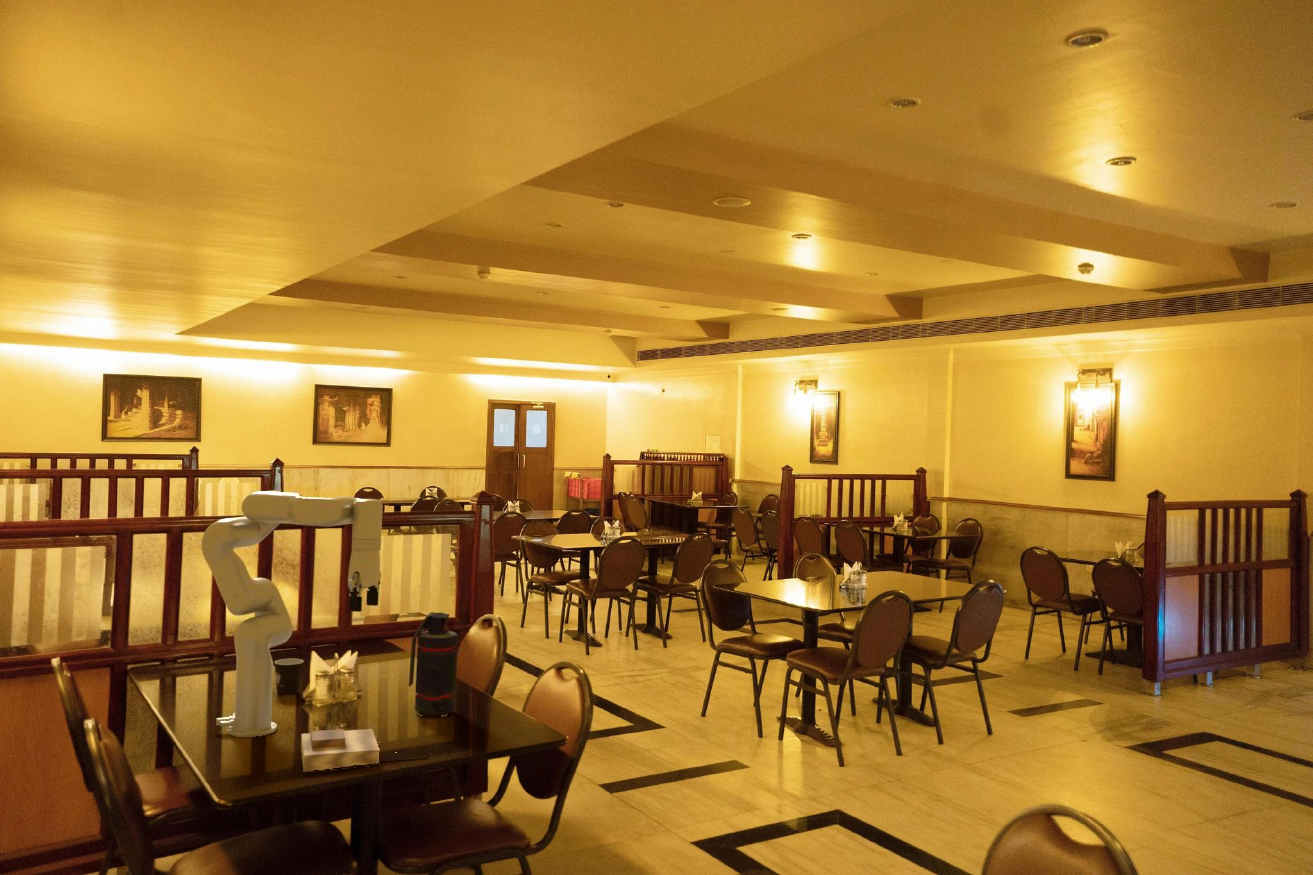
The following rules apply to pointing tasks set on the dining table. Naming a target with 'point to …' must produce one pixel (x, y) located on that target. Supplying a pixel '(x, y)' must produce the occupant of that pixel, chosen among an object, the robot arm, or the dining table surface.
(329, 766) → the block
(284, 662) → the coffee mug
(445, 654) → the grenade
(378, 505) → the robot arm
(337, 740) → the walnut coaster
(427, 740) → the dining table surface
